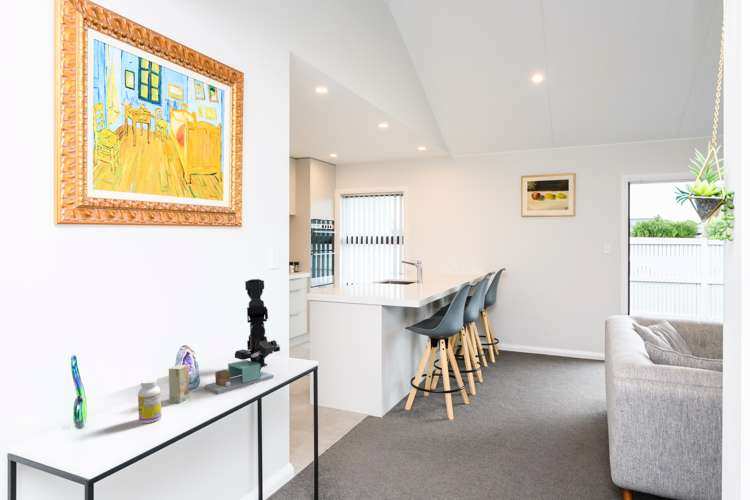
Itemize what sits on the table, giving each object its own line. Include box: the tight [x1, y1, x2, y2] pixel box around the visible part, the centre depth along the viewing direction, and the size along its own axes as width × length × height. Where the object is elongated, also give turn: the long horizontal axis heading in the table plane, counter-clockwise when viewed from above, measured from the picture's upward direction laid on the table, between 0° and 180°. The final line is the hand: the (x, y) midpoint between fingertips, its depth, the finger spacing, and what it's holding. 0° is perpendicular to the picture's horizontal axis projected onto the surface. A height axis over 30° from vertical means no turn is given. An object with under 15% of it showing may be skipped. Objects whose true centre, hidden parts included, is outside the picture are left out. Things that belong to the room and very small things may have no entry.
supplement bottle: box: [137, 378, 163, 424], centre depth 153 cm, size 7×7×13 cm
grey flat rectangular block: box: [204, 370, 275, 394], centre depth 190 cm, size 10×25×3 cm, turn 138°
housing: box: [227, 359, 261, 383], centre depth 192 cm, size 11×8×6 cm
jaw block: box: [214, 369, 230, 387], centre depth 185 cm, size 4×4×5 cm
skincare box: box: [168, 364, 190, 404], centre depth 171 cm, size 6×4×12 cm
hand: (258, 371), depth 197 cm, fingers closed
